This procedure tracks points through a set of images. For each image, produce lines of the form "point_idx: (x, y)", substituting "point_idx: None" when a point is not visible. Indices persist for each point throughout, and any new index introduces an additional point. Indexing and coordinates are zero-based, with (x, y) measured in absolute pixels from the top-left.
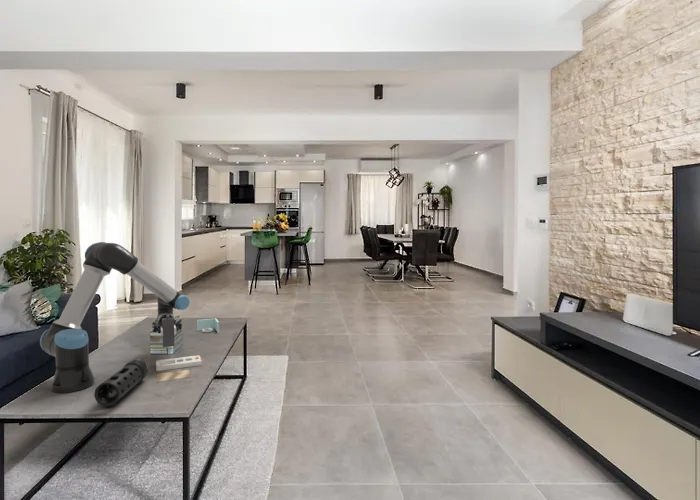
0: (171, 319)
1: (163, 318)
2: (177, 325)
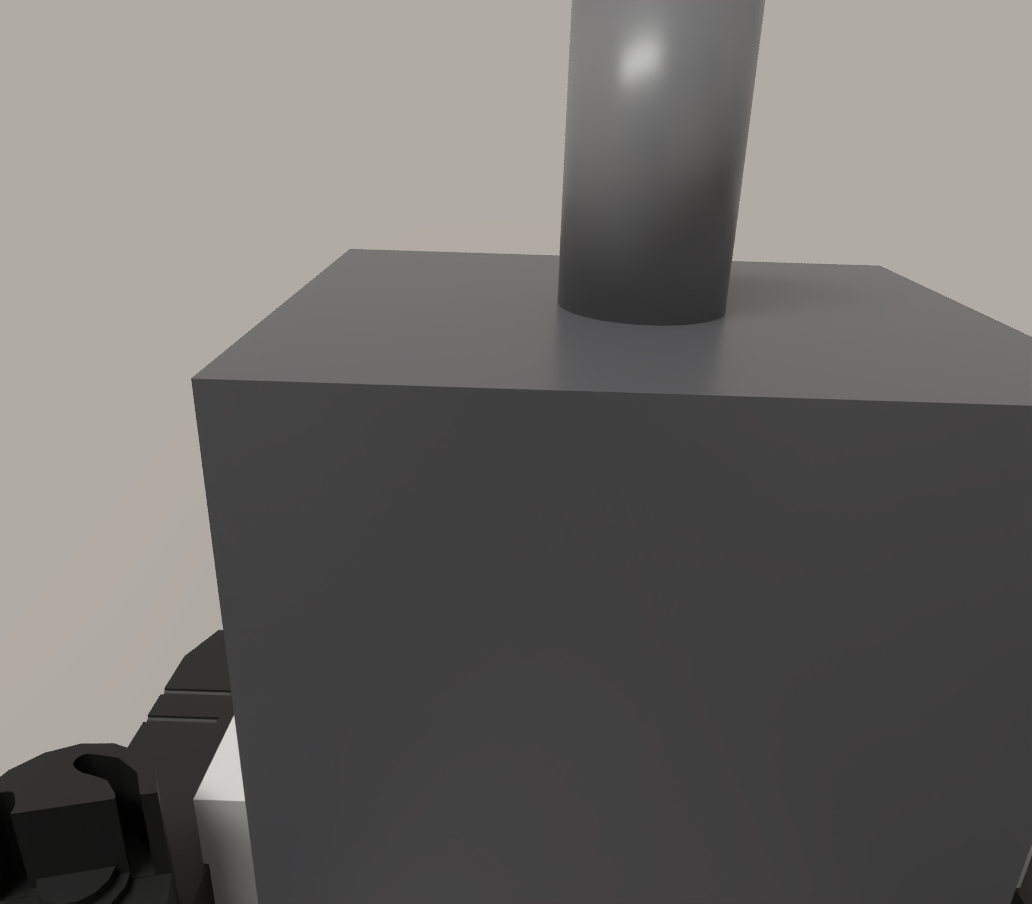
0: (458, 262)
1: (1007, 375)
2: (45, 871)
